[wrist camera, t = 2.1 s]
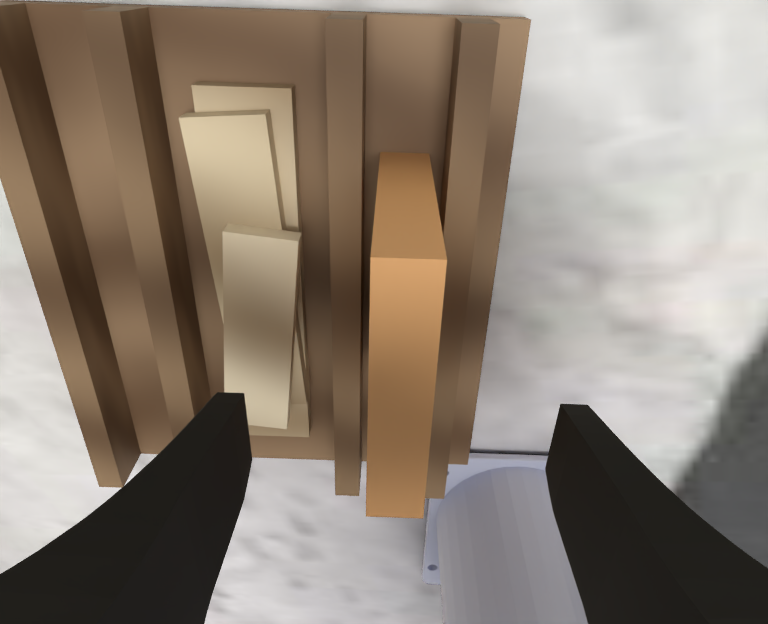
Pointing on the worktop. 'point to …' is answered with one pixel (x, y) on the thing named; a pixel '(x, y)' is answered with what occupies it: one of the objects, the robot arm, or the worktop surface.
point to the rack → (182, 219)
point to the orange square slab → (403, 334)
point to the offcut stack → (254, 244)
